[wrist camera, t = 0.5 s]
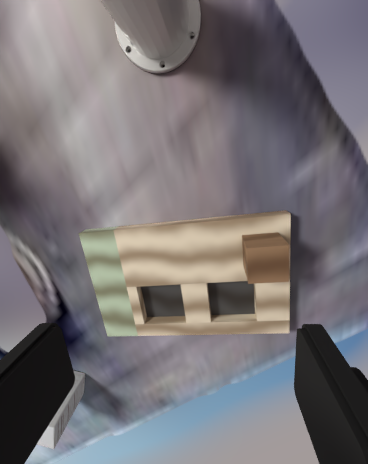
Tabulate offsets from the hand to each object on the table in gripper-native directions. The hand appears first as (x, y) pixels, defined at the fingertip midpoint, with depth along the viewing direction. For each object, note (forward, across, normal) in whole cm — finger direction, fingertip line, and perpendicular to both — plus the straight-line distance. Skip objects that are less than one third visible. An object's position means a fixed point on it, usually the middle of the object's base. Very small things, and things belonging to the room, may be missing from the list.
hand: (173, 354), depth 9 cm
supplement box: (+35, +38, +44) cm, 67 cm away
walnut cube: (+31, -9, +8) cm, 34 cm away
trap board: (+34, +5, +15) cm, 37 cm away
